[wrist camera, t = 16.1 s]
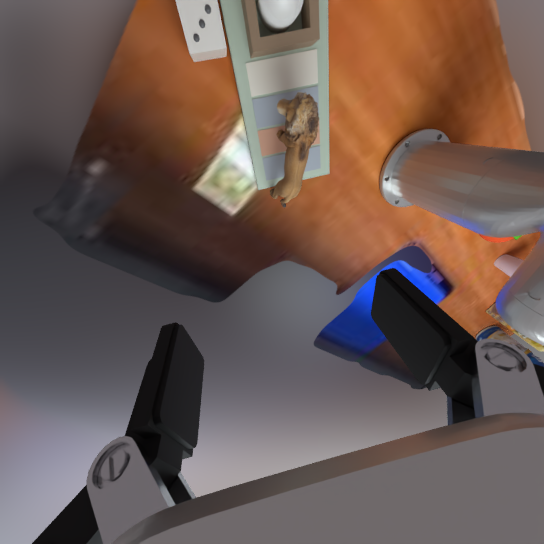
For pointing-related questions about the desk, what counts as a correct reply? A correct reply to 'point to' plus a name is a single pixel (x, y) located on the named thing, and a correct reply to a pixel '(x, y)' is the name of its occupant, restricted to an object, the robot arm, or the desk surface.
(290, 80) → the game board
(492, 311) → the drink carton
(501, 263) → the smoothie
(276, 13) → the dome button
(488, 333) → the beverage bottle
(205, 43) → the ivory die
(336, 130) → the desk surface
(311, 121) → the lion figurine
